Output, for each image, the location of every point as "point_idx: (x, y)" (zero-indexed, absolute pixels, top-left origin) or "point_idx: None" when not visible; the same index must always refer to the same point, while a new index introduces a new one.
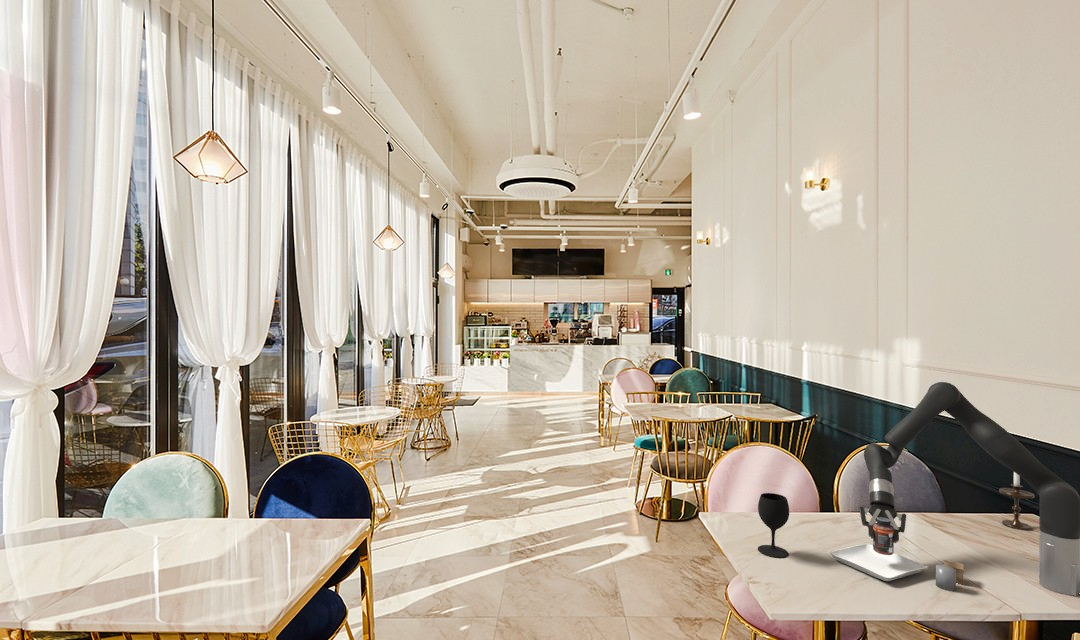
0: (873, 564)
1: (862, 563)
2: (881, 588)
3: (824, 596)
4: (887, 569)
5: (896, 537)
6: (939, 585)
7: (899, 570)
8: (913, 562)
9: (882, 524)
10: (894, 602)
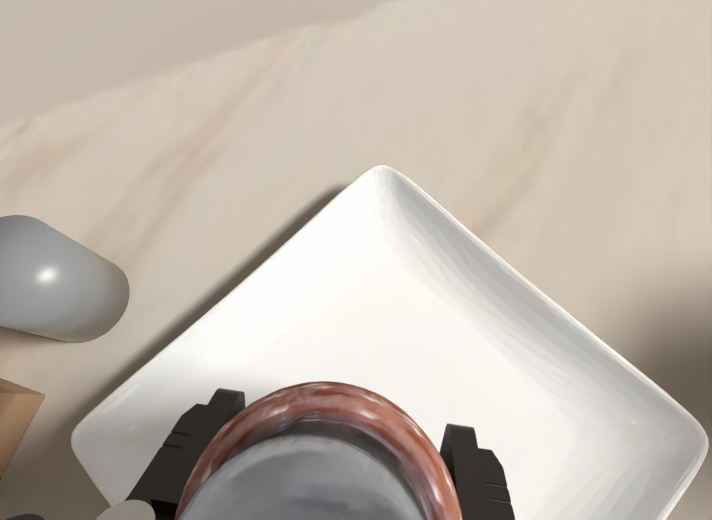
0: None
1: None
2: (413, 158)
3: (640, 8)
4: None
5: (206, 408)
6: (118, 271)
7: None
8: None
9: (349, 439)
10: (386, 59)
